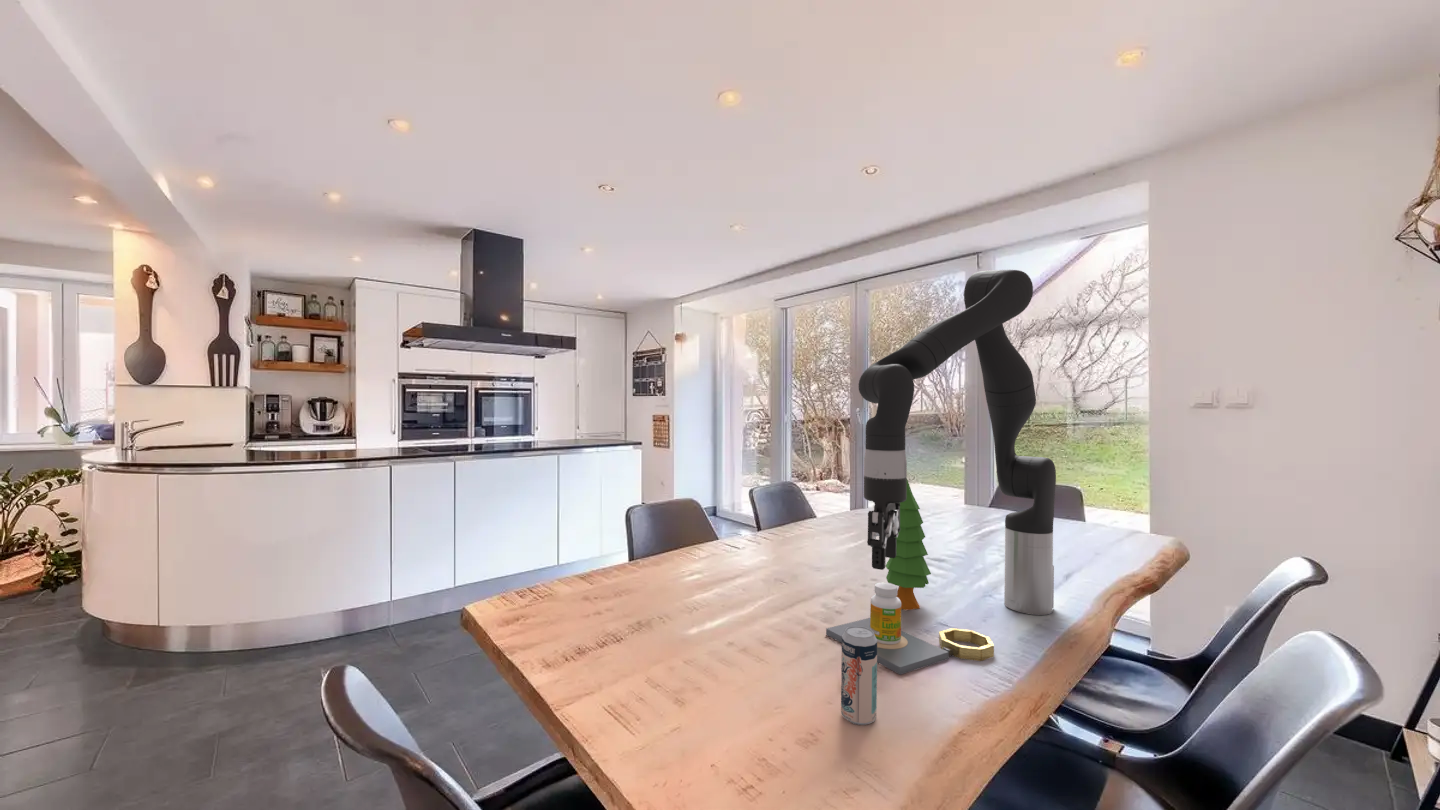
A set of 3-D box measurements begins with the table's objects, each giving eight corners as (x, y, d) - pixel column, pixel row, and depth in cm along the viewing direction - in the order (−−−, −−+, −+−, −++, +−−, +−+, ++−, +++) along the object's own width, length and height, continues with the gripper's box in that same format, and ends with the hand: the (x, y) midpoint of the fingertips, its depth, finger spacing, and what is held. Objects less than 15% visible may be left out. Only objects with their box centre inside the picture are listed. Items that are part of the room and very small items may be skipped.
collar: (964, 634, 106) (964, 624, 106) (1006, 652, 98) (1006, 641, 98) (925, 646, 100) (925, 635, 100) (967, 666, 93) (967, 654, 93)
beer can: (836, 709, 79) (837, 625, 79) (869, 708, 79) (870, 624, 80) (847, 728, 74) (848, 639, 74) (881, 727, 75) (882, 638, 75)
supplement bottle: (881, 647, 97) (882, 591, 97) (864, 634, 102) (864, 582, 102) (907, 643, 99) (907, 588, 99) (888, 631, 104) (889, 579, 104)
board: (871, 623, 111) (871, 616, 111) (948, 658, 96) (948, 651, 96) (826, 634, 105) (826, 627, 105) (900, 674, 90) (900, 666, 90)
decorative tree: (876, 603, 123) (878, 468, 123) (899, 594, 129) (901, 466, 129) (916, 616, 115) (918, 472, 116) (939, 606, 121) (940, 470, 122)
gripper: (897, 480, 93) (896, 576, 93) (914, 471, 105) (913, 556, 105) (853, 477, 96) (852, 569, 97) (874, 469, 109) (874, 551, 109)
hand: (884, 562), depth 101 cm, fingers open, 8 cm apart
